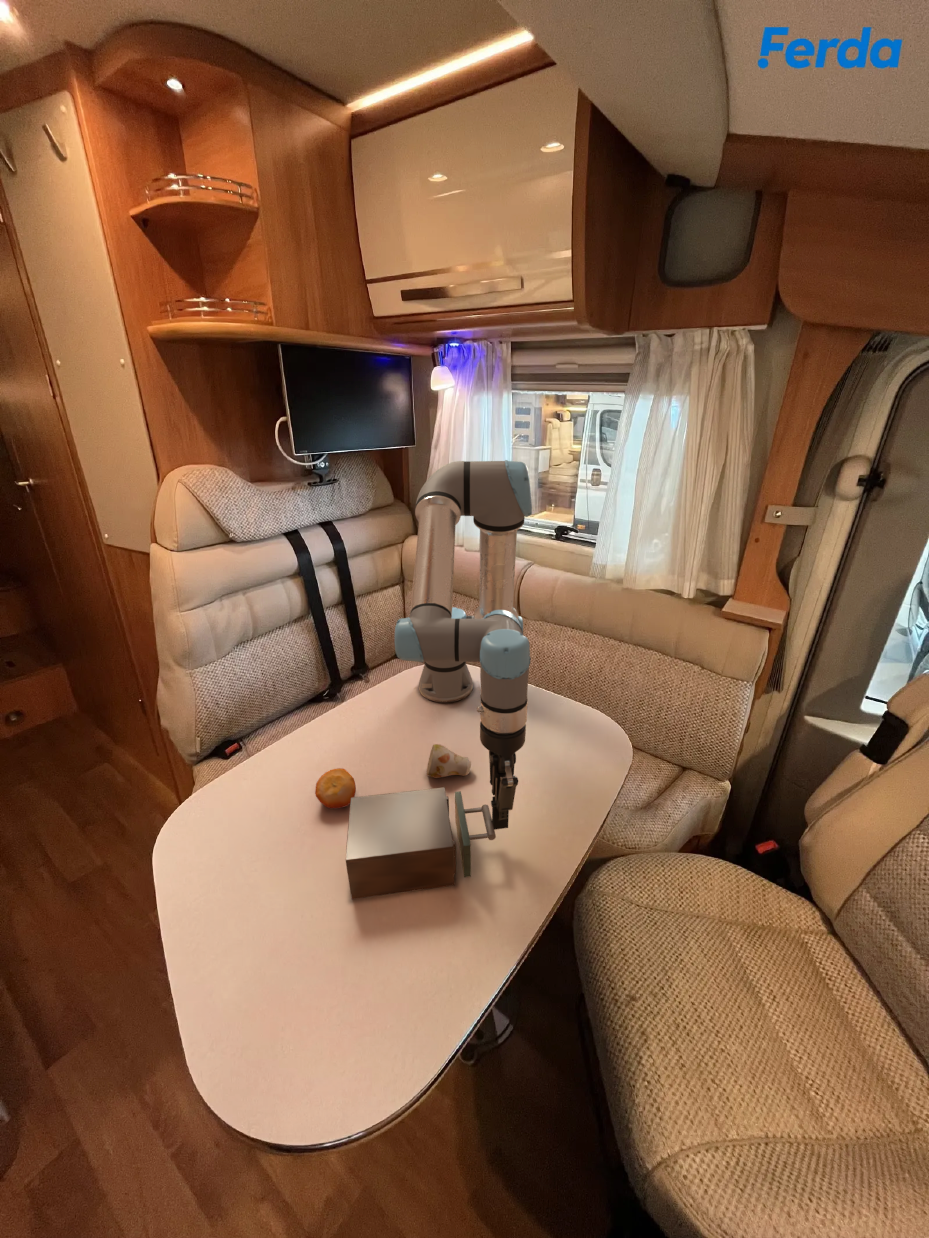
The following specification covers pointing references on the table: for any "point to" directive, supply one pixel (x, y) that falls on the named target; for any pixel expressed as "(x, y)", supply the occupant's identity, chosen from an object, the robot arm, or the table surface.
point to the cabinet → (399, 843)
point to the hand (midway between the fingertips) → (499, 825)
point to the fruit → (335, 788)
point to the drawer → (463, 831)
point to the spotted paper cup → (446, 763)
